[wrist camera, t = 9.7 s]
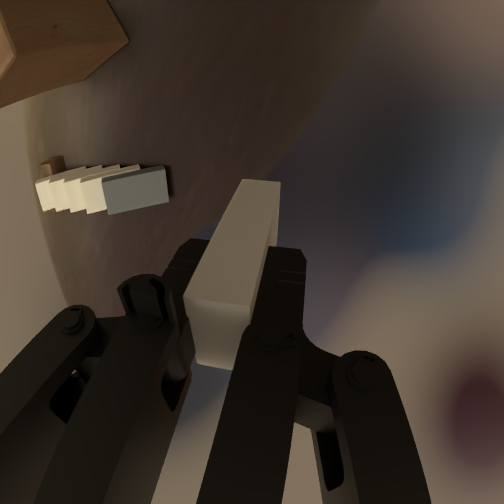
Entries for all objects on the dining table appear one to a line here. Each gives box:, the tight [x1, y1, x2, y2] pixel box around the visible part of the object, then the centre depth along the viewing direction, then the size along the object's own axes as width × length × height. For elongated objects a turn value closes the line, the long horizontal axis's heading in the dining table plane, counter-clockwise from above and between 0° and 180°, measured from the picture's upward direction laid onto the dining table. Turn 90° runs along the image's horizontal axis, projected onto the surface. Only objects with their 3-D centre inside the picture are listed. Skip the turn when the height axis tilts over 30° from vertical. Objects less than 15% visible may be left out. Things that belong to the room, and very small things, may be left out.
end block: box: [39, 156, 66, 212], centre depth 43 cm, size 3×9×4 cm, turn 179°
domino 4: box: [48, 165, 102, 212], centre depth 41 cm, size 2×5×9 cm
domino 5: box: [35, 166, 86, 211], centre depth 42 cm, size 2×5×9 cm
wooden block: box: [0, 0, 129, 108], centre depth 22 cm, size 10×10×20 cm
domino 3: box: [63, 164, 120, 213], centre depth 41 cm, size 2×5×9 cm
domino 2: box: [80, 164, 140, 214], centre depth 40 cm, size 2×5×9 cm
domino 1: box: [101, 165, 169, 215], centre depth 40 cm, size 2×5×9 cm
